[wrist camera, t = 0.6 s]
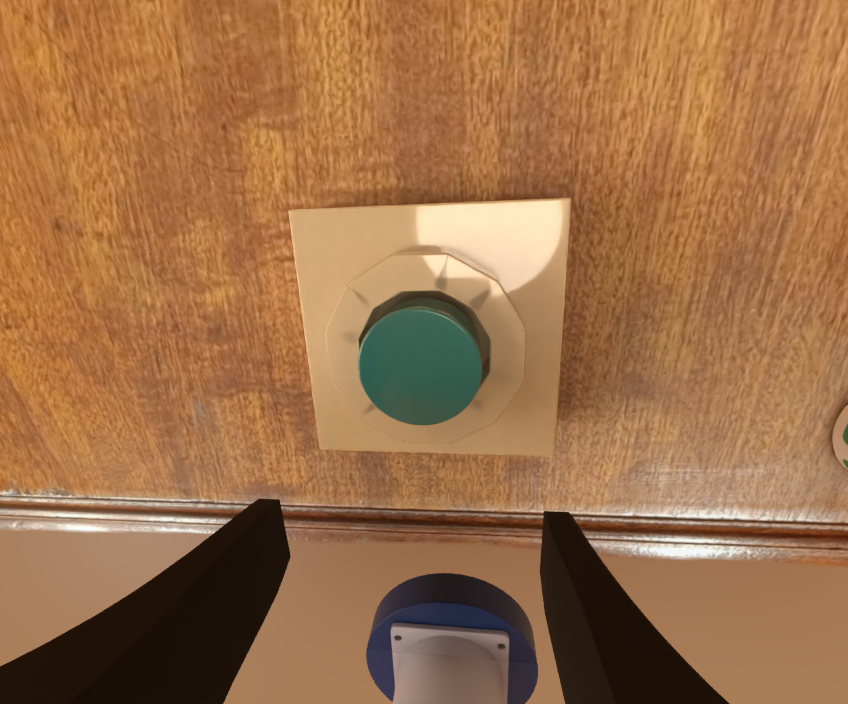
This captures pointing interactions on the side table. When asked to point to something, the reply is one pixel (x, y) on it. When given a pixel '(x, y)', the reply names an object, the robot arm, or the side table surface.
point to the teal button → (421, 361)
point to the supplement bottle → (841, 437)
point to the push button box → (449, 281)
